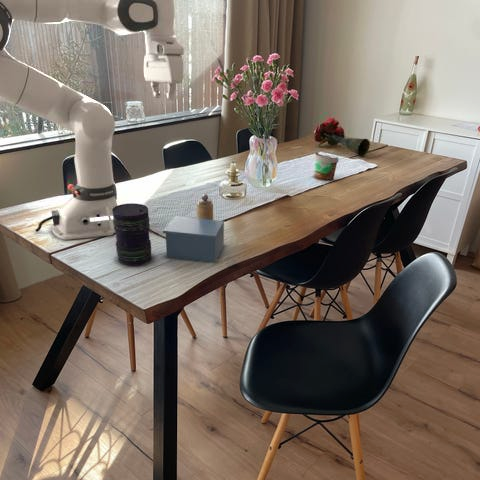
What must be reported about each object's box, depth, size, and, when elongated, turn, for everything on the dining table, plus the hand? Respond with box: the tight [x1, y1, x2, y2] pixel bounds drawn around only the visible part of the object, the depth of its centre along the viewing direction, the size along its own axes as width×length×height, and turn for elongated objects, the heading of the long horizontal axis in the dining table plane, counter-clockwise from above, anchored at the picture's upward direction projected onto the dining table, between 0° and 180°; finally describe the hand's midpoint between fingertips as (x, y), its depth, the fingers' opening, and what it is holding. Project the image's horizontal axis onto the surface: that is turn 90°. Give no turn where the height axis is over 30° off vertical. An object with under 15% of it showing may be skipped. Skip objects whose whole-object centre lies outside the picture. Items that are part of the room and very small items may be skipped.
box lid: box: [162, 215, 225, 238], centre depth 143 cm, size 15×12×1 cm
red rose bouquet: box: [313, 117, 371, 158], centre depth 262 cm, size 16×18×35 cm
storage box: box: [165, 223, 225, 263], centre depth 145 cm, size 15×12×7 cm
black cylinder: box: [112, 202, 153, 267], centre depth 137 cm, size 10×10×15 cm
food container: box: [313, 151, 339, 181], centre depth 213 cm, size 12×6×10 cm, turn 42°
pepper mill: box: [196, 193, 214, 220], centre depth 153 cm, size 5×5×14 cm
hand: (163, 98), depth 150 cm, fingers open, 8 cm apart
